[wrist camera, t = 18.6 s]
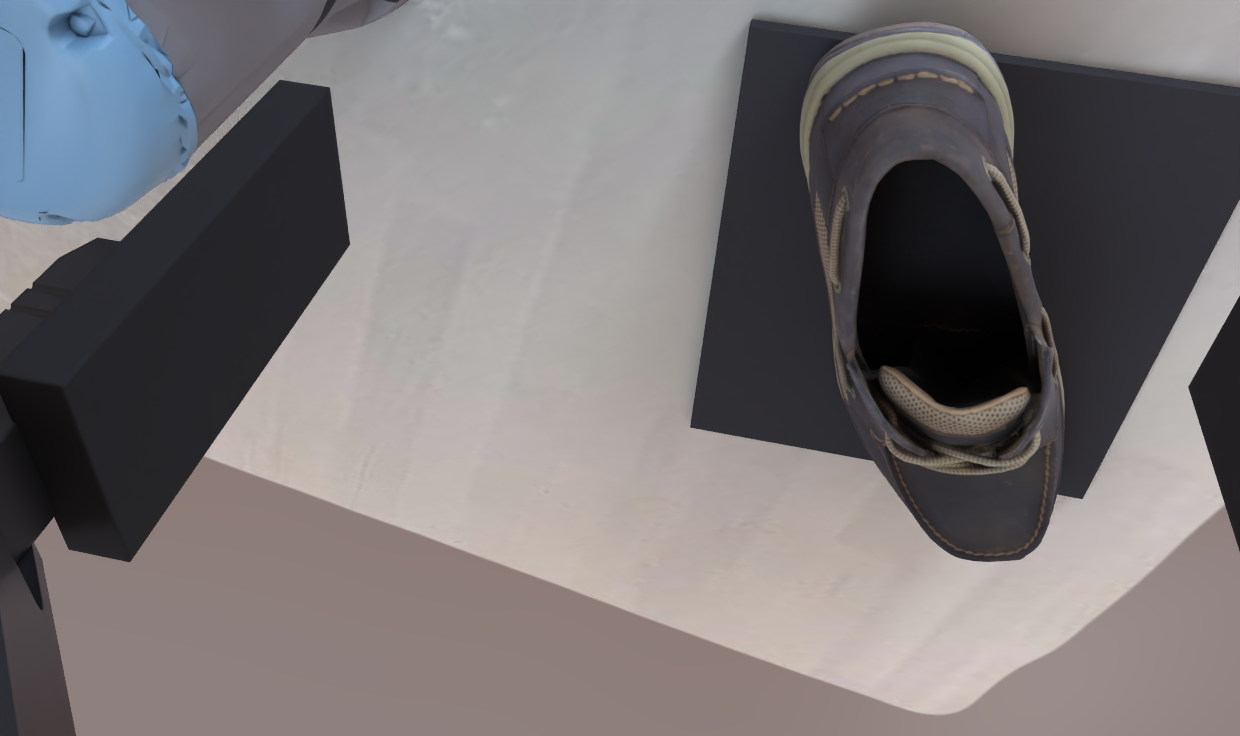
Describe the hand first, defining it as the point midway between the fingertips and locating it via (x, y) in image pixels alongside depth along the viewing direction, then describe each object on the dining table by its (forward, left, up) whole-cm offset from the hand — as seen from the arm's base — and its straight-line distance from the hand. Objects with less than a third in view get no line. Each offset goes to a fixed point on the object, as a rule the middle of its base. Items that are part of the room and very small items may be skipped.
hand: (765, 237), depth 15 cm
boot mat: (+9, -22, -32) cm, 40 cm away
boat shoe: (+9, -22, -31) cm, 39 cm away
